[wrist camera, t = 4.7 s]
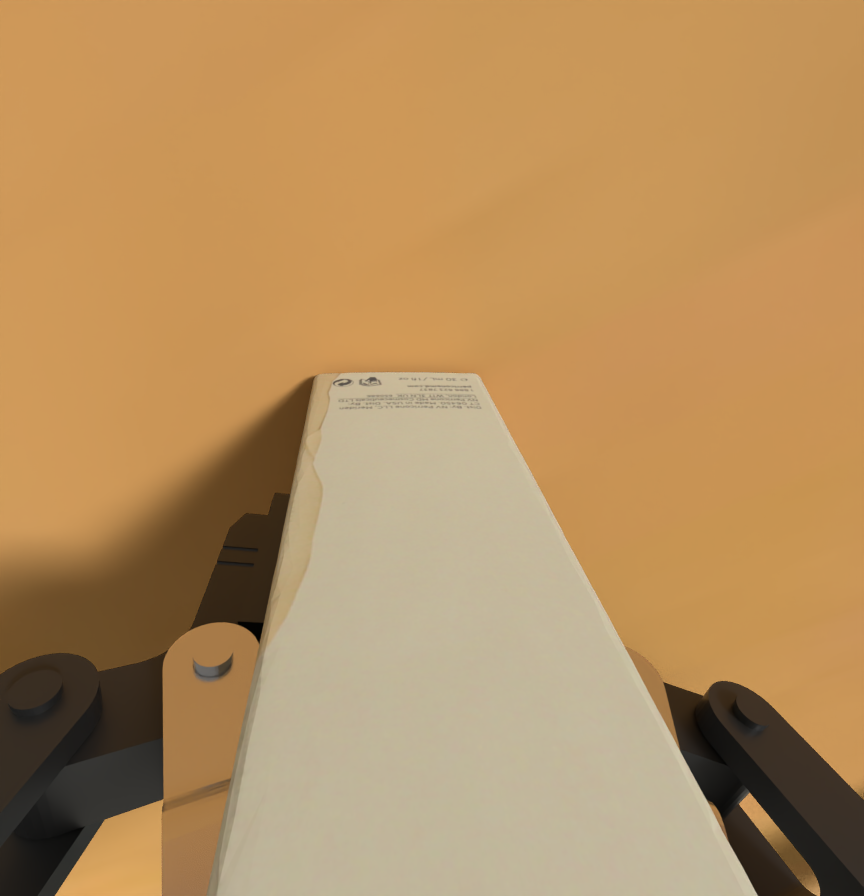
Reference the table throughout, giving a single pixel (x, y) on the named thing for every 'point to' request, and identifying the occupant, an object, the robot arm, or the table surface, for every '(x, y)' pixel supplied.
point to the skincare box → (447, 681)
